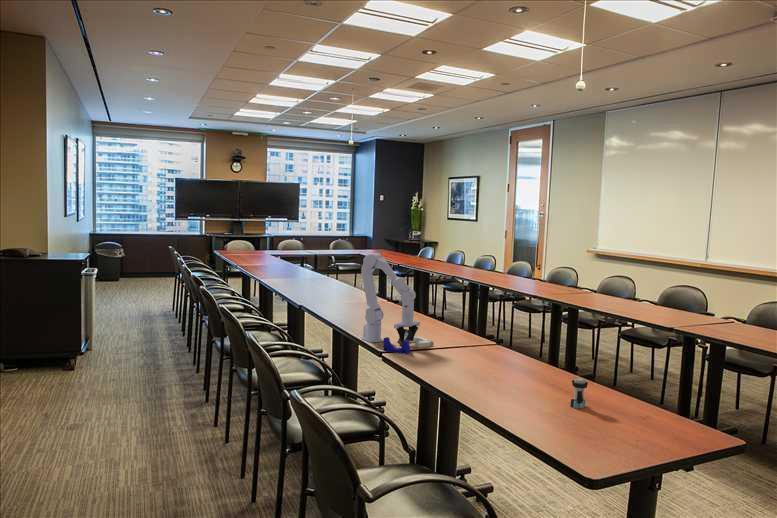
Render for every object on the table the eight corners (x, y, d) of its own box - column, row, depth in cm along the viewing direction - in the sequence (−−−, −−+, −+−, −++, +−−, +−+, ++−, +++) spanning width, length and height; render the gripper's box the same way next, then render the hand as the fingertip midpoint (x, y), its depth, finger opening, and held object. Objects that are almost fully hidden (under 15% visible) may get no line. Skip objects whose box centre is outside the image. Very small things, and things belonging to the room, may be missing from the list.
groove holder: (402, 341, 279) (402, 337, 279) (416, 339, 284) (416, 335, 284) (418, 347, 267) (419, 343, 267) (433, 345, 272) (433, 341, 272)
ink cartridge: (396, 342, 271) (404, 328, 273) (399, 344, 272) (406, 330, 275) (403, 344, 267) (410, 330, 270) (406, 346, 268) (413, 332, 271)
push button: (581, 403, 197) (583, 376, 196) (592, 408, 192) (594, 380, 191) (566, 405, 195) (568, 377, 194) (577, 410, 190) (579, 382, 189)
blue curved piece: (410, 352, 259) (410, 340, 258) (406, 354, 255) (406, 341, 254) (387, 348, 264) (388, 336, 263) (383, 350, 260) (383, 338, 259)
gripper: (400, 316, 263) (399, 344, 264) (424, 314, 271) (423, 341, 272) (391, 314, 269) (391, 341, 270) (415, 311, 277) (414, 338, 278)
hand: (406, 341), depth 271 cm, fingers closed on ink cartridge, 5 cm apart
